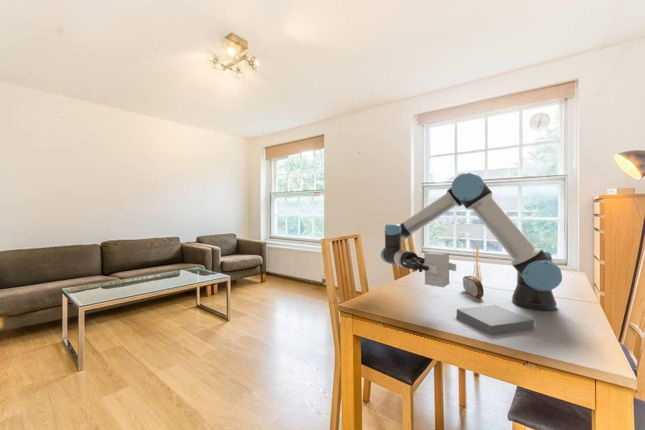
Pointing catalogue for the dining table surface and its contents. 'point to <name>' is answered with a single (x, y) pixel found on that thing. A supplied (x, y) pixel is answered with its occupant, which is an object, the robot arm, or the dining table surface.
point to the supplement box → (442, 268)
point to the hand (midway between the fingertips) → (446, 268)
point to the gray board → (495, 319)
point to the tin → (473, 286)
